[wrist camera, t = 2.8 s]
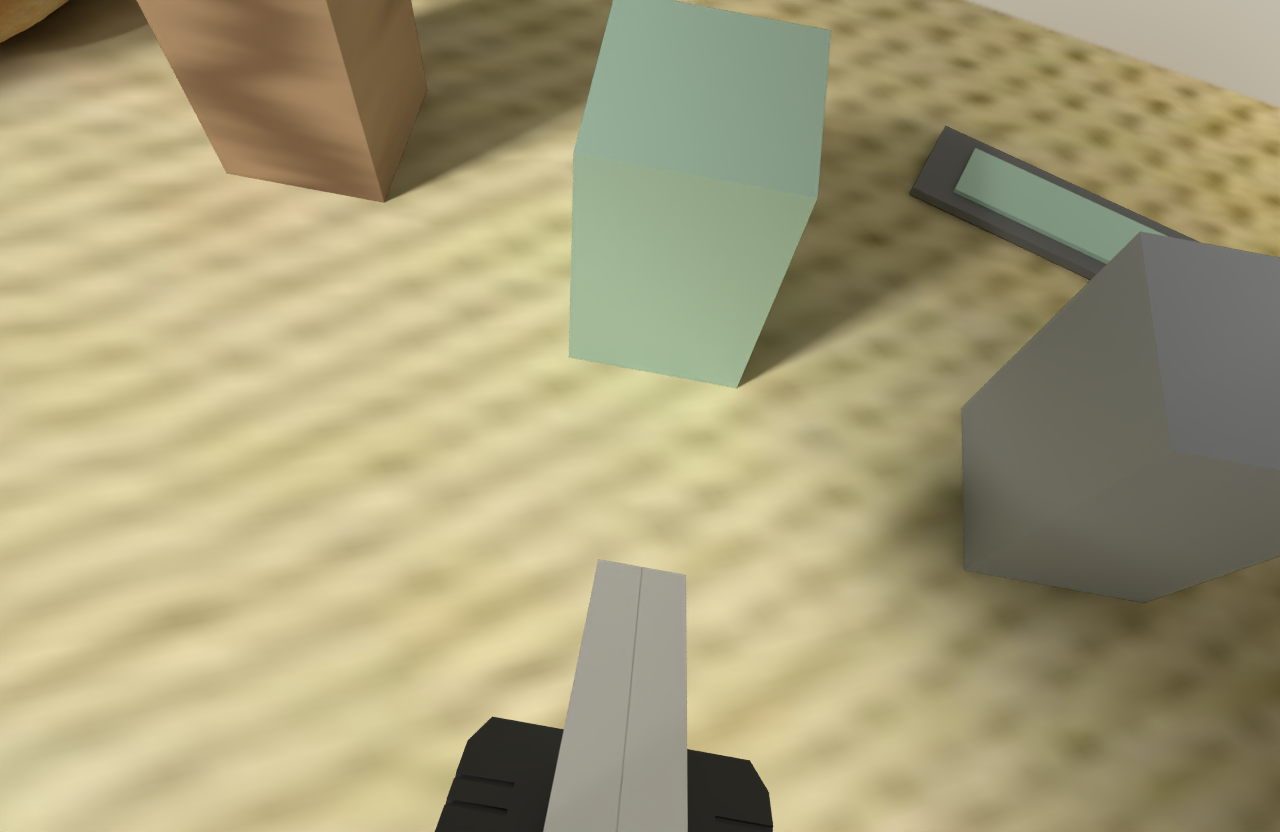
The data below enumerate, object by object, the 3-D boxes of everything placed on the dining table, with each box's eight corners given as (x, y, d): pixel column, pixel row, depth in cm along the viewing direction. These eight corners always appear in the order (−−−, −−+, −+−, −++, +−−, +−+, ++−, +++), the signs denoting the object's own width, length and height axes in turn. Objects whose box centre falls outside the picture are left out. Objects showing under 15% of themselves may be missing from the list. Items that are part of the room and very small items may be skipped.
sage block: (568, 357, 29) (573, 152, 20) (599, 224, 31) (615, -11, 22) (736, 388, 29) (817, 198, 20) (752, 252, 31) (830, 30, 22)
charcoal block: (964, 570, 27) (1171, 449, 18) (961, 407, 29) (1140, 231, 20) (1144, 603, 27) (1441, 500, 18) (1125, 438, 29) (1375, 275, 20)
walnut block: (227, 173, 31) (90, -88, 22) (282, 62, 33) (181, -211, 24) (384, 202, 31) (312, -46, 22) (427, 89, 34) (379, -174, 25)
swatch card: (909, 193, 33) (915, 183, 33) (941, 132, 35) (947, 122, 34) (1193, 328, 32) (1203, 320, 31) (1212, 257, 33) (1223, 248, 33)
